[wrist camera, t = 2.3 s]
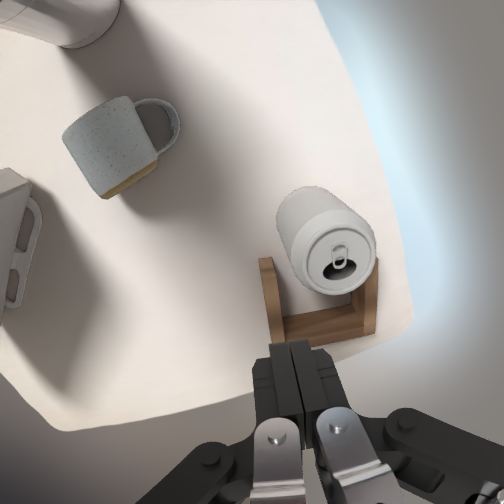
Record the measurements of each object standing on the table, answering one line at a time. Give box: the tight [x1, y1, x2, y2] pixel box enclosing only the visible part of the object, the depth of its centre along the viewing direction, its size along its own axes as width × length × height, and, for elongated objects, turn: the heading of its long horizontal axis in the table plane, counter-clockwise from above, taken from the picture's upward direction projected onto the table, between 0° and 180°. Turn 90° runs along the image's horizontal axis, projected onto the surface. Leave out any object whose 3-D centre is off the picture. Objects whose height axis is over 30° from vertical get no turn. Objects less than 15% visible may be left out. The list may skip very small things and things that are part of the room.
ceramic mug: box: [62, 96, 180, 199], centre depth 28 cm, size 11×8×8 cm
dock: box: [258, 257, 378, 347], centre depth 37 cm, size 10×12×5 cm
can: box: [276, 186, 376, 295], centre depth 30 cm, size 8×8×12 cm
